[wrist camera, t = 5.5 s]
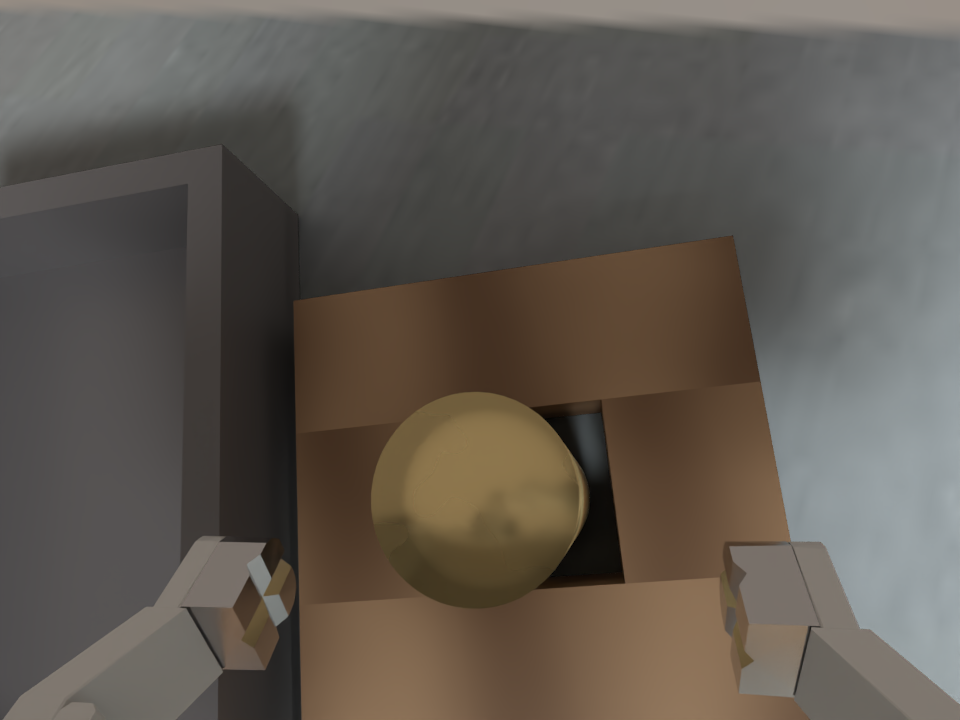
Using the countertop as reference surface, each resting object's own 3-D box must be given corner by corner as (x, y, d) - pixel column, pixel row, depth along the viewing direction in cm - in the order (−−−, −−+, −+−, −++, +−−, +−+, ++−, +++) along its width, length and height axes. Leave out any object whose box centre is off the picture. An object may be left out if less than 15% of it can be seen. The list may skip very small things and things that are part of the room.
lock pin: (582, 435, 18) (565, 380, 10) (597, 550, 18) (591, 601, 9) (474, 446, 19) (366, 403, 10) (483, 559, 18) (375, 614, 10)
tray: (297, 214, 22) (221, 144, 17) (313, 900, 17) (215, 1035, 13) (-6, 266, 24) (-142, 214, 19) (-65, 895, 19) (-260, 1011, 15)
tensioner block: (716, 269, 19) (733, 235, 16) (797, 720, 16) (831, 760, 14) (329, 323, 21) (293, 300, 18) (343, 734, 18) (302, 771, 16)
